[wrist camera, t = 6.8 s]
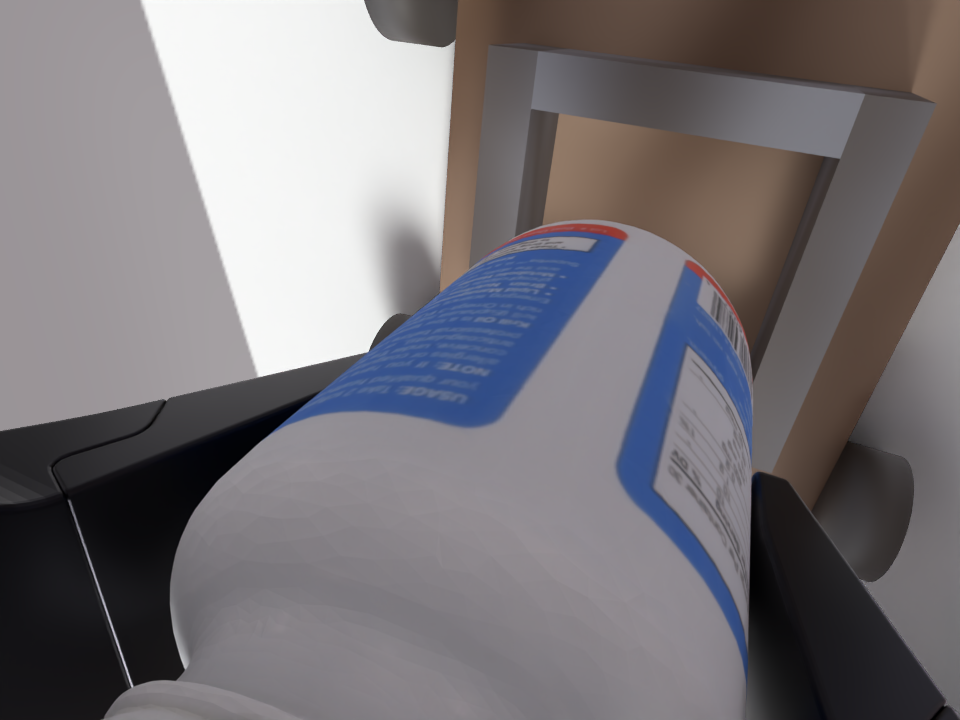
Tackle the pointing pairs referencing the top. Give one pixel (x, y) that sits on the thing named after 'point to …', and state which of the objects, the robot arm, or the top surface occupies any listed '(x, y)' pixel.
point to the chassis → (730, 186)
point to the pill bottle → (492, 511)
